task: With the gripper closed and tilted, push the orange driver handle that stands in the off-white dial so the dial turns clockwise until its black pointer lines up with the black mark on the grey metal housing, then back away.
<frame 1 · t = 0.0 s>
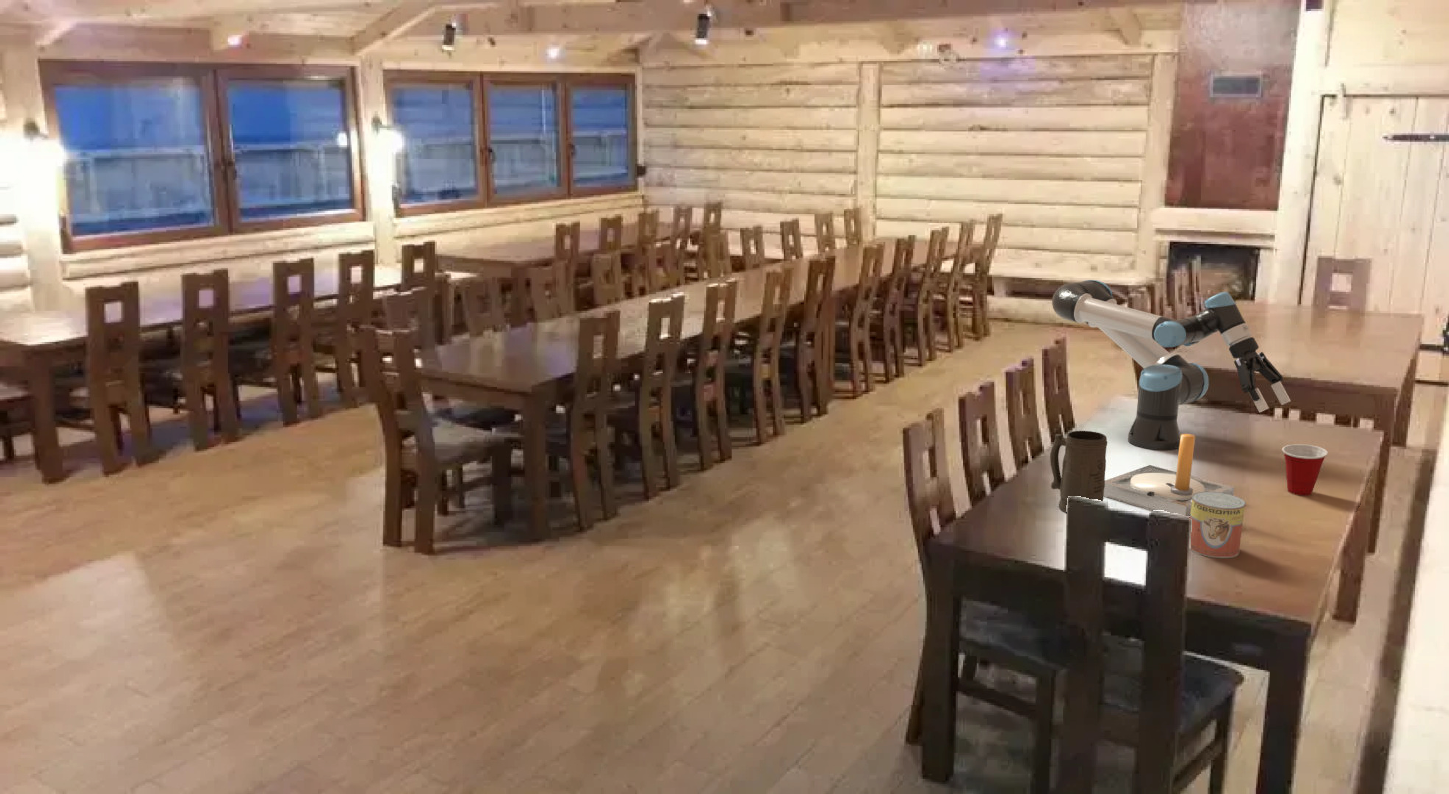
hand: (1275, 406, 329), 15 cm above the table, tool tilted 35°, fingers open, 13 cm apart
plastic cup: (1298, 493, 302), on the table
housing: (1165, 497, 297), on the table
canned food: (1212, 549, 262), on the table
beer stein: (1071, 507, 289), on the table
dial: (1170, 459, 294), point 11 cm above the table, hinge at 0.0°
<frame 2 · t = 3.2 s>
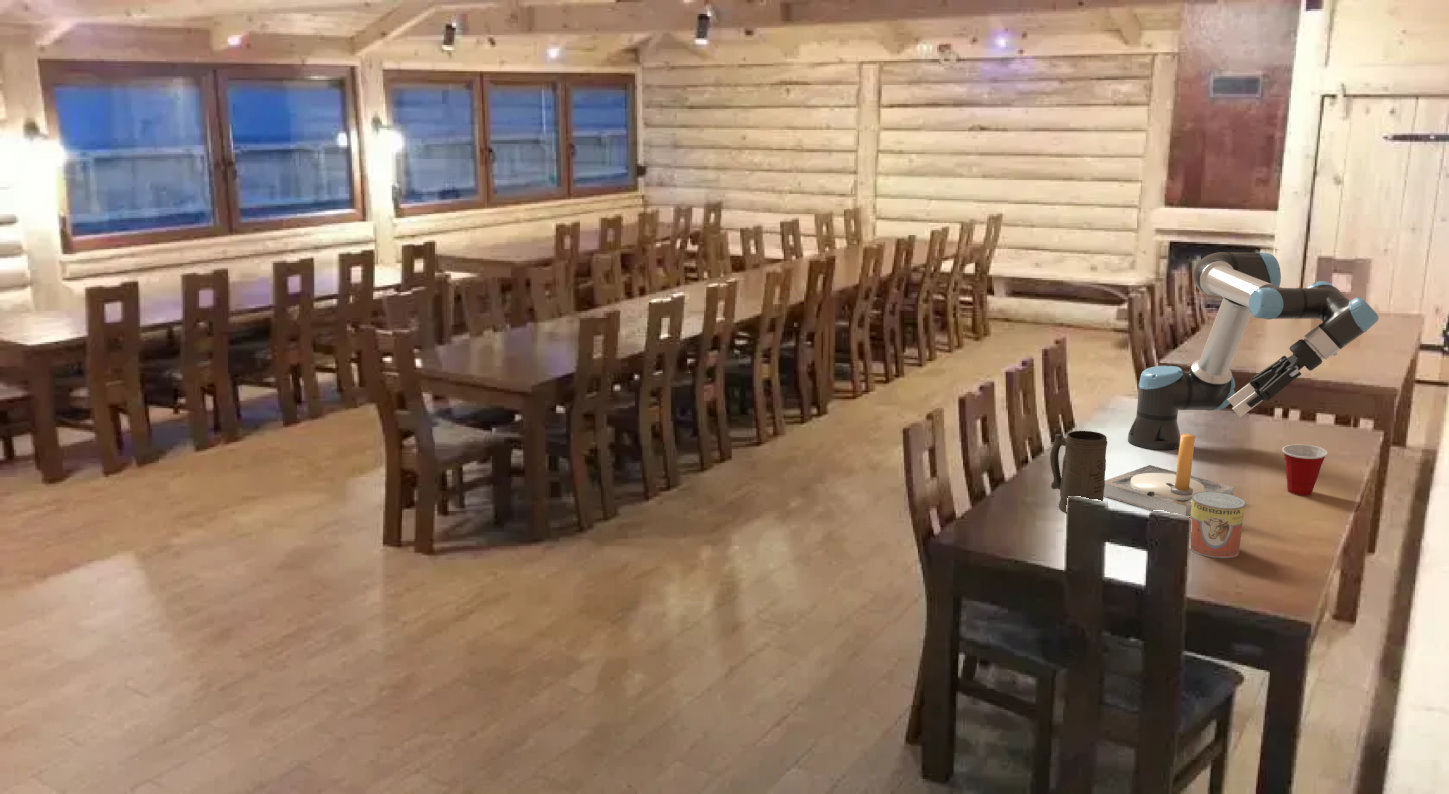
hand: (1233, 408, 281), 27 cm above the table, tool tilted 45°, fingers open, 9 cm apart
nothing on the table moved.
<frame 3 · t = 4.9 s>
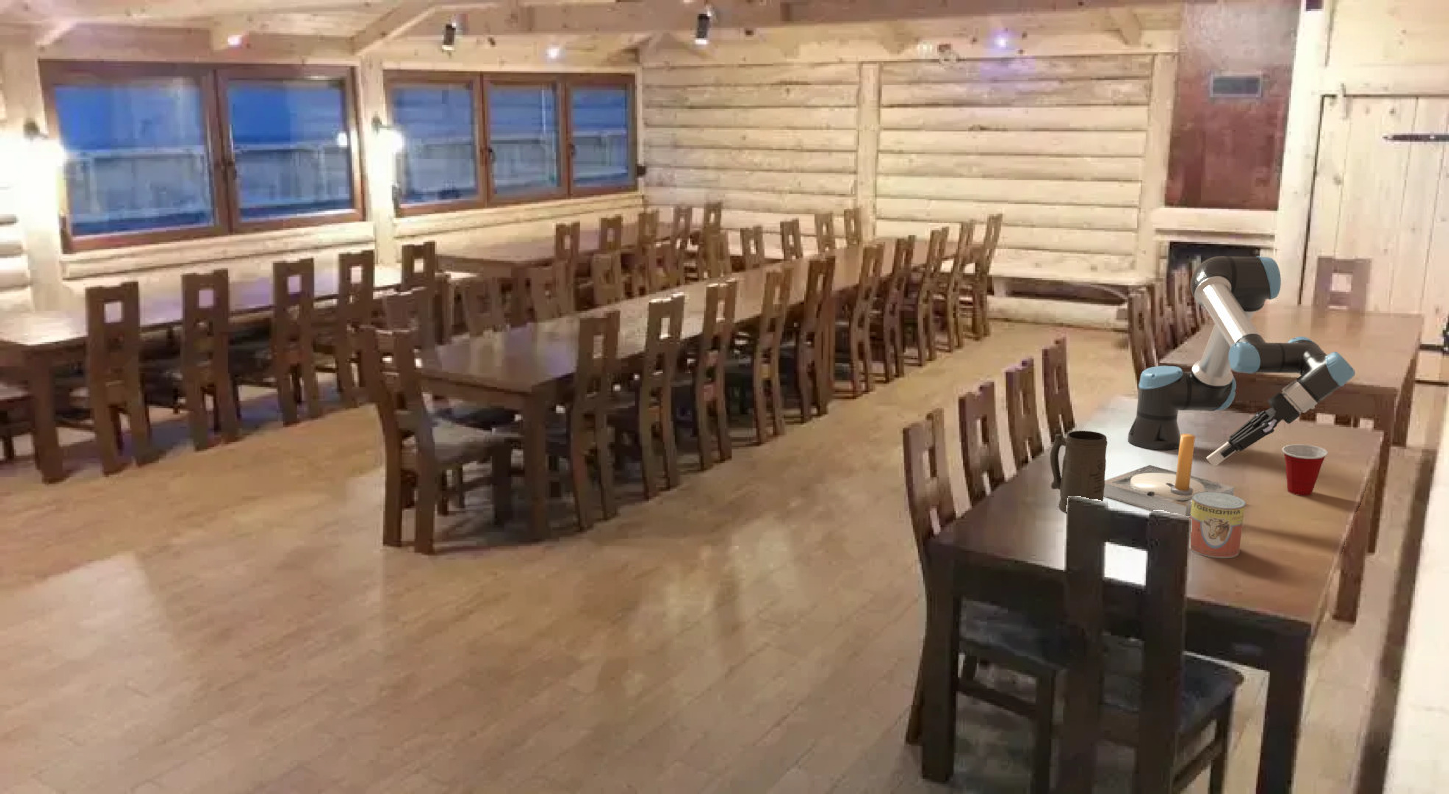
hand: (1210, 462, 285), 13 cm above the table, tool tilted 45°, fingers closed
nothing on the table moved.
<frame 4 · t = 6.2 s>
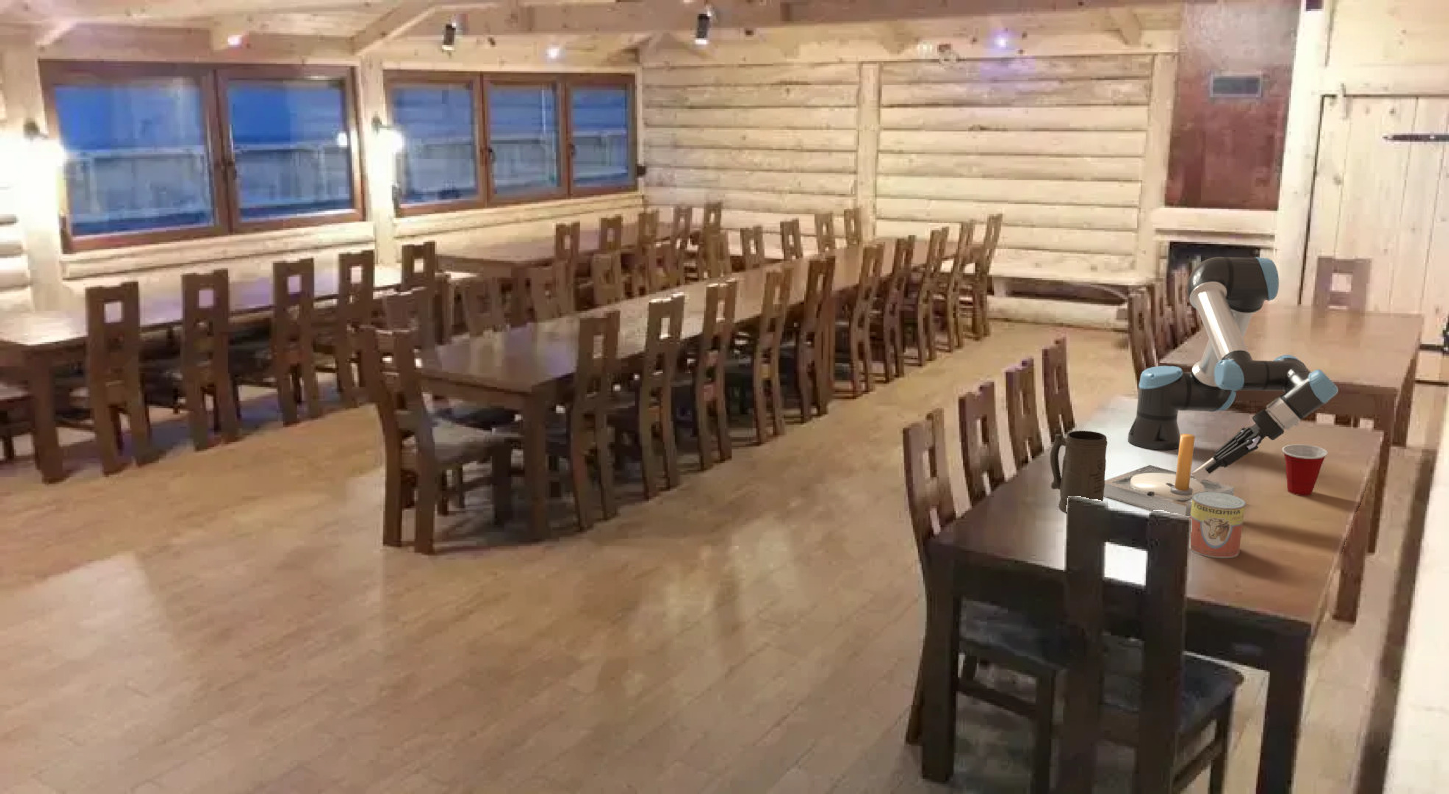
hand: (1195, 477, 287), 8 cm above the table, tool tilted 45°, fingers closed
dial: (1170, 459, 294), point 11 cm above the table, hinge at 0.5°, touching gripper
everything else where it was.
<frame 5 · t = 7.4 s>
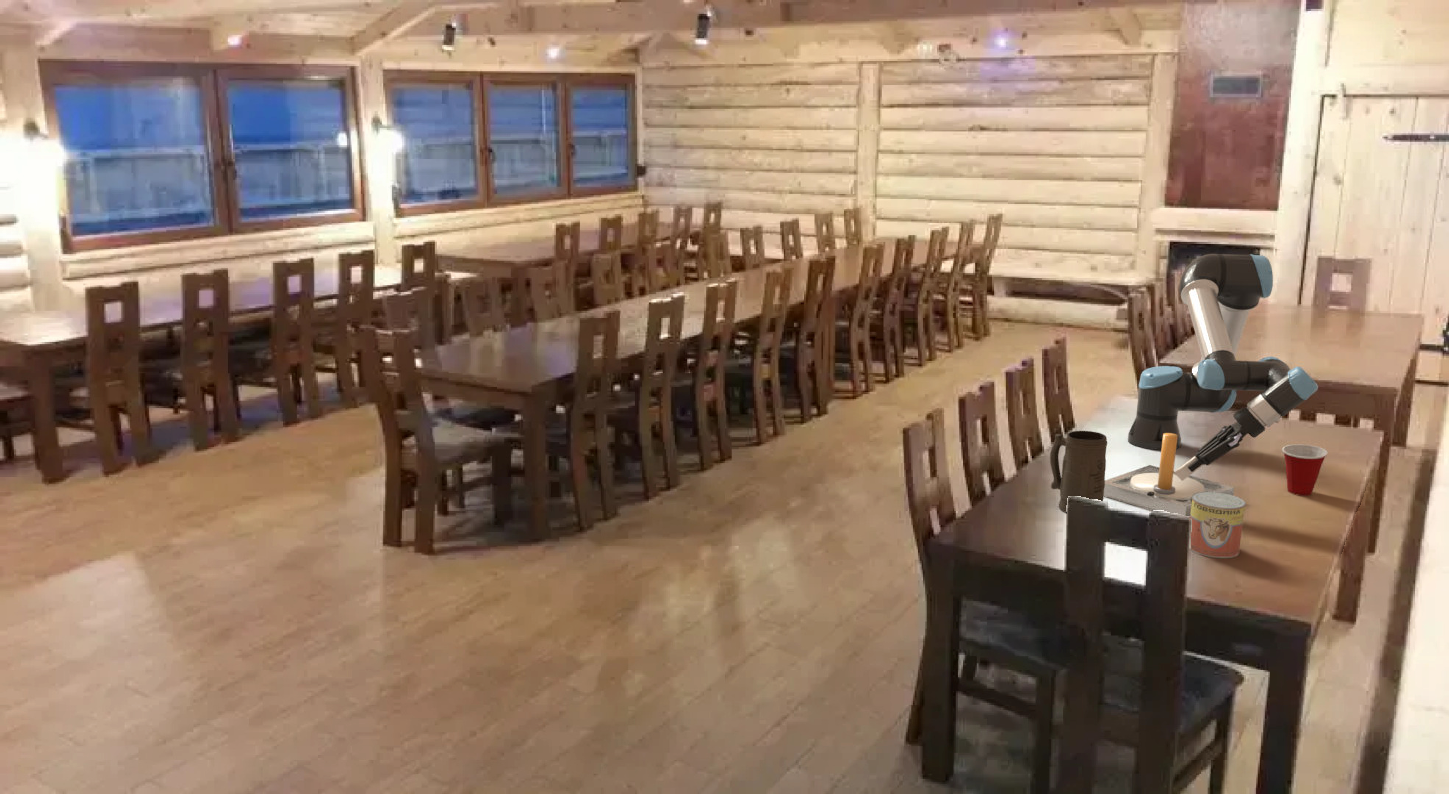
hand: (1178, 476, 288), 8 cm above the table, tool tilted 45°, fingers closed
dial: (1169, 459, 294), point 11 cm above the table, hinge at 35.4°, touching gripper
everything else where it was.
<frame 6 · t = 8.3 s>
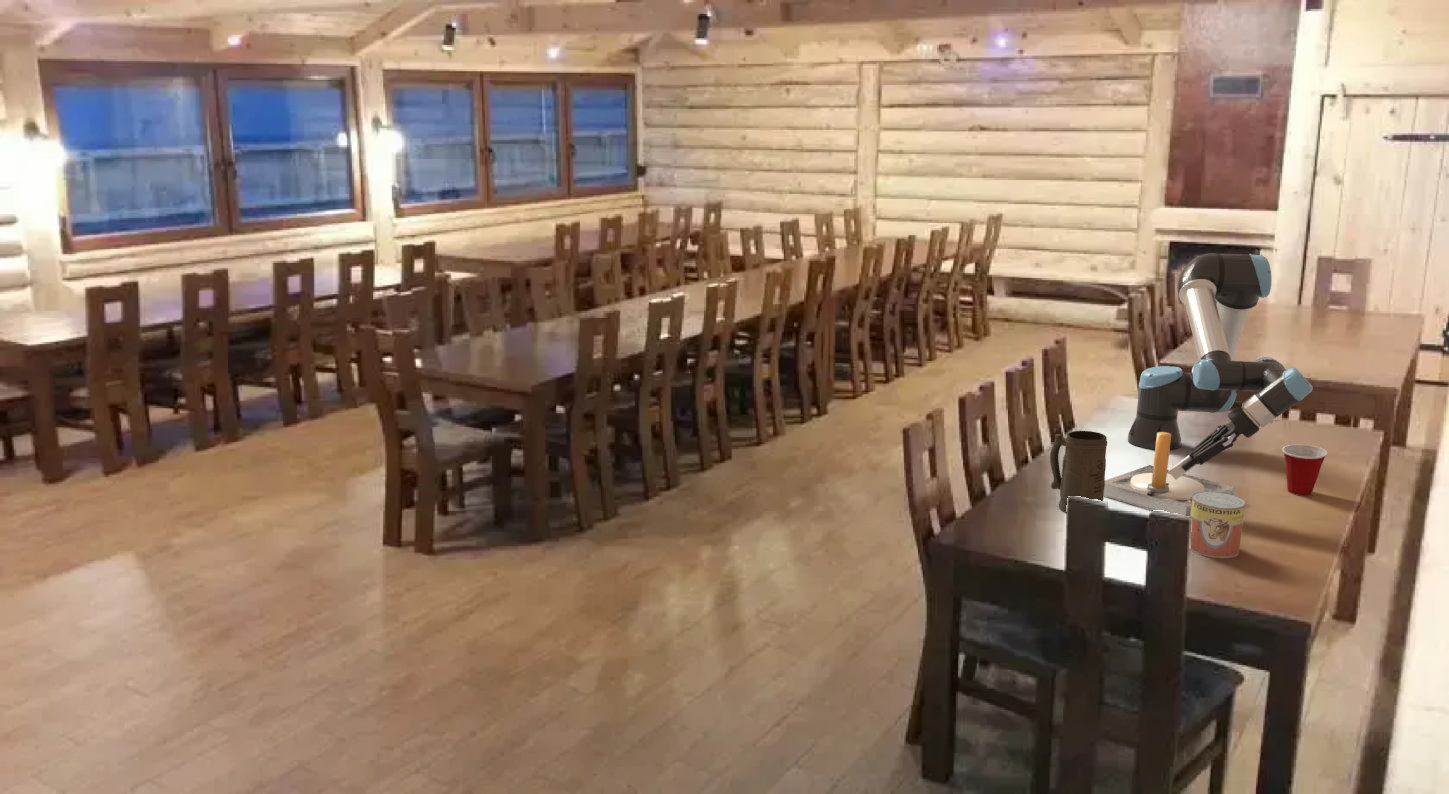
hand: (1171, 475, 289), 8 cm above the table, tool tilted 45°, fingers closed
dial: (1169, 459, 294), point 11 cm above the table, hinge at 47.7°, touching gripper
everything else where it was.
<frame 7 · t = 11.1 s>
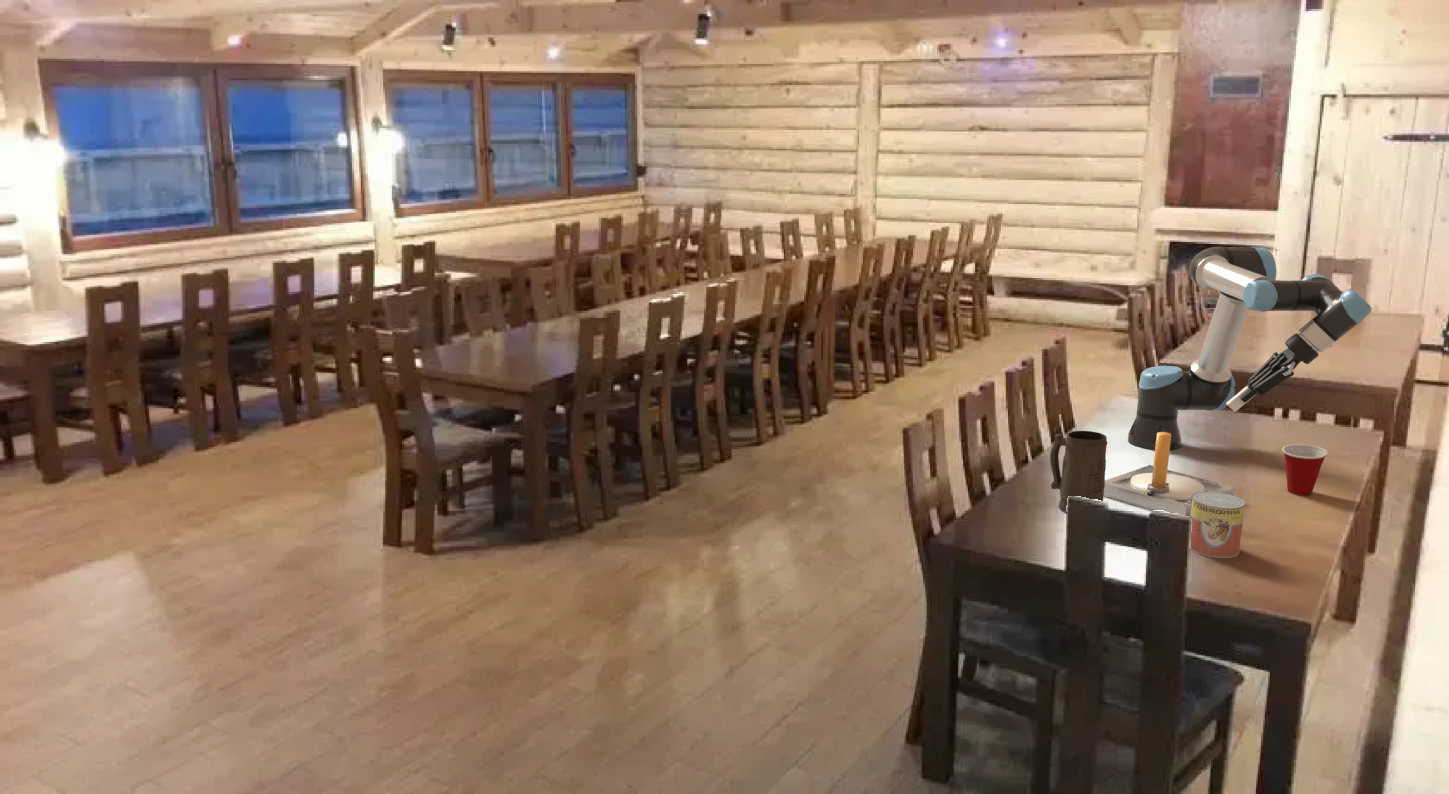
hand: (1230, 407, 285), 26 cm above the table, tool tilted 40°, fingers closed
dial: (1169, 459, 294), point 11 cm above the table, hinge at 47.7°
everything else where it was.
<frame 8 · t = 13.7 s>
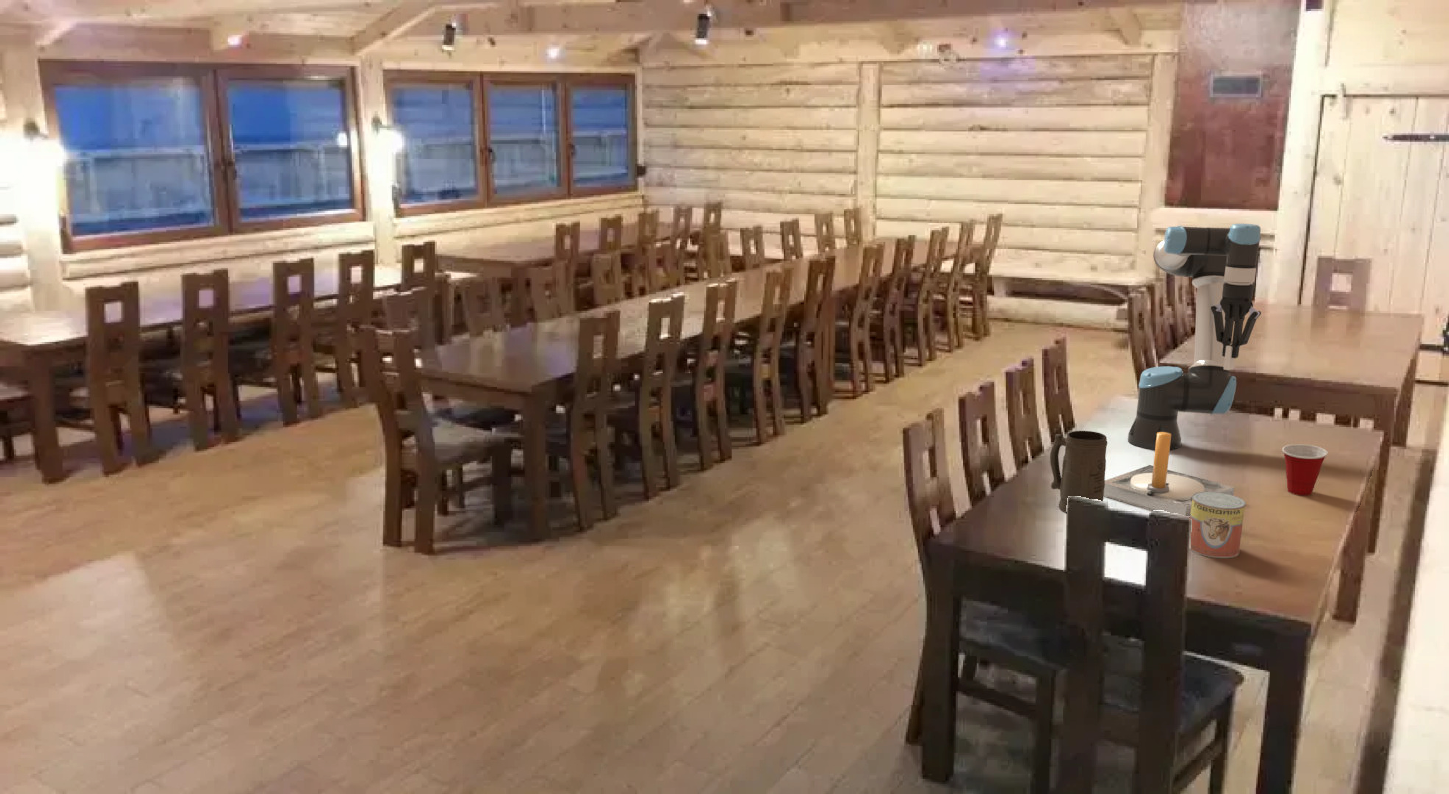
hand: (1228, 369, 308), 30 cm above the table, tool pointing down, fingers closed
nothing on the table moved.
at the end: dial at +48° (first picture: +0°) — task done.
